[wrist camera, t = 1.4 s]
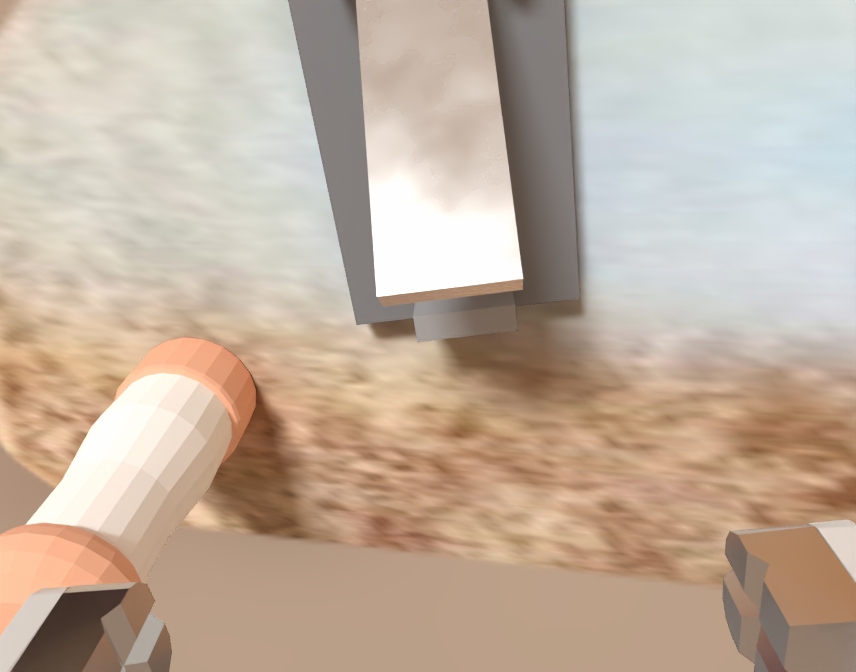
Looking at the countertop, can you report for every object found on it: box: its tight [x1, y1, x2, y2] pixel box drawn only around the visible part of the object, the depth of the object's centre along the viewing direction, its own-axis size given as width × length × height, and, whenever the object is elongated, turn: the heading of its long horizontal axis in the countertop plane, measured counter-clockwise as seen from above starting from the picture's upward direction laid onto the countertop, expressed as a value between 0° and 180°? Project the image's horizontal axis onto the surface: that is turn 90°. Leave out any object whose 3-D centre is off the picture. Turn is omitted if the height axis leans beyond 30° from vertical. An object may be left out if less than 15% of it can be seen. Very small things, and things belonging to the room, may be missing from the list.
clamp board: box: [288, 0, 580, 342], centre depth 31 cm, size 12×20×5 cm, turn 8°
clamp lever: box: [356, 0, 523, 306], centre depth 25 cm, size 5×17×2 cm
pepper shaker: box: [0, 337, 256, 636], centre depth 32 cm, size 7×7×19 cm
